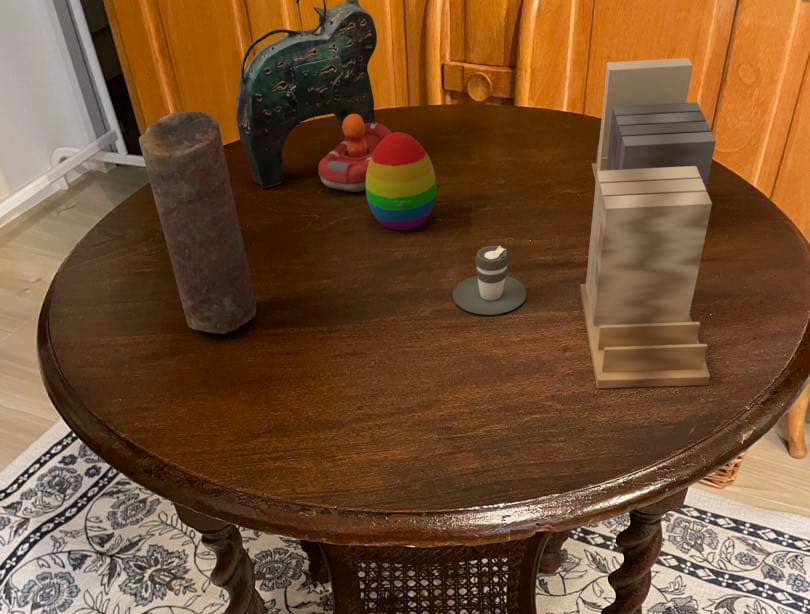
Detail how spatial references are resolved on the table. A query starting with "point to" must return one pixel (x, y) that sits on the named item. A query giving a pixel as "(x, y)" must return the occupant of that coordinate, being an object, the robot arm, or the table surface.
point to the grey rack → (659, 138)
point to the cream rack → (645, 277)
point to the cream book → (641, 89)
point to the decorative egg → (400, 182)
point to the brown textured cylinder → (199, 220)
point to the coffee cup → (490, 285)
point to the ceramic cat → (304, 83)
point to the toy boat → (352, 155)
